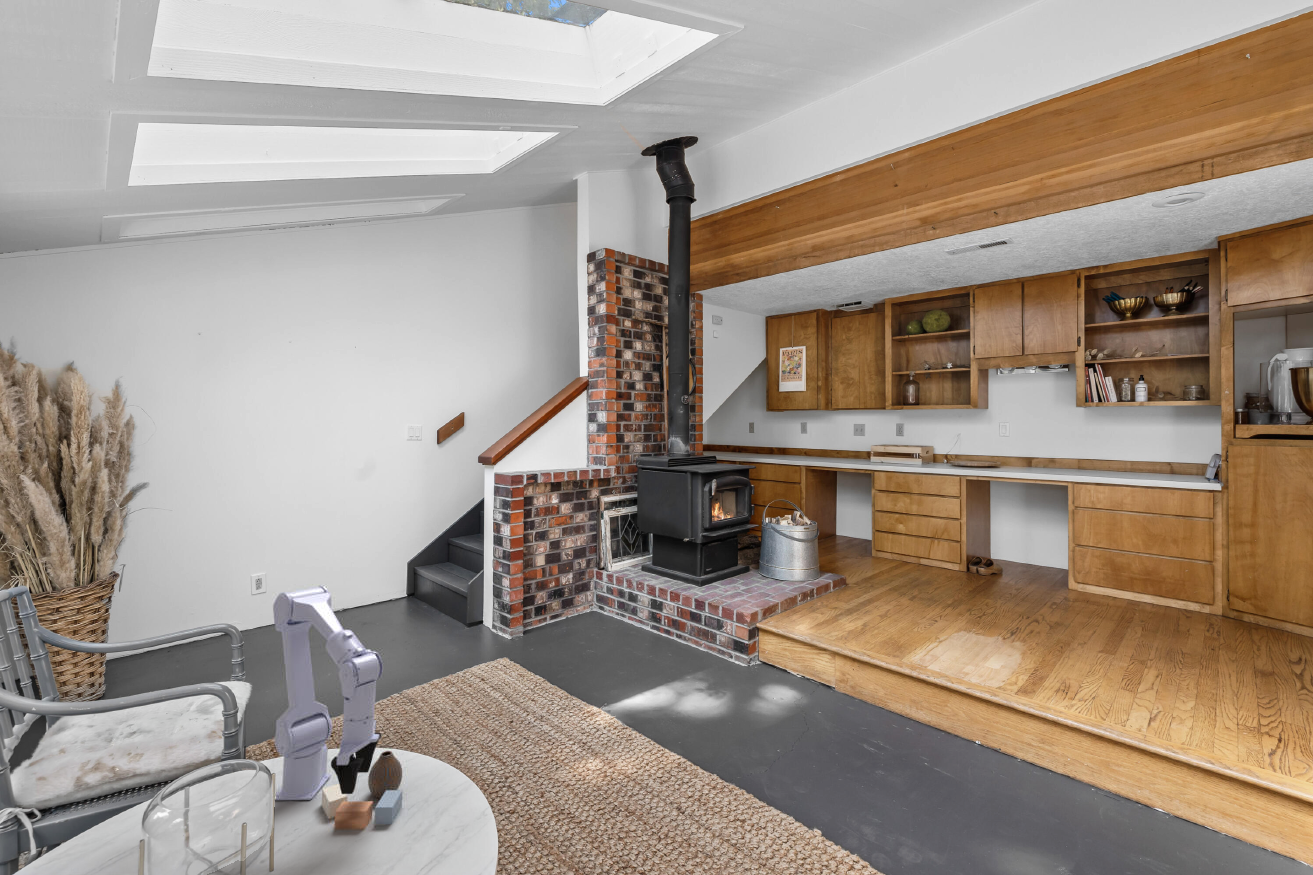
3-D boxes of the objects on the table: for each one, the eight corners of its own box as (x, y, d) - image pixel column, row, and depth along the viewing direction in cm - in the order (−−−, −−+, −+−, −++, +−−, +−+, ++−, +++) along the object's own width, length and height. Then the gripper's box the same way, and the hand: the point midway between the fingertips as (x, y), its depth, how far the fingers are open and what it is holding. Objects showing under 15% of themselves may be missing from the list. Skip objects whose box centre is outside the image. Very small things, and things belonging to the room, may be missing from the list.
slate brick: (385, 807, 126) (386, 790, 126) (401, 806, 126) (402, 789, 126) (374, 825, 120) (375, 807, 120) (391, 824, 120) (392, 807, 120)
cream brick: (321, 805, 125) (322, 788, 125) (339, 799, 127) (339, 783, 128) (328, 819, 121) (329, 801, 121) (346, 813, 123) (347, 795, 123)
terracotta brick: (334, 829, 118) (335, 811, 118) (341, 818, 121) (342, 801, 121) (365, 829, 118) (366, 811, 118) (372, 818, 122) (372, 800, 122)
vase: (392, 803, 127) (394, 762, 127) (361, 801, 127) (363, 760, 127) (406, 785, 134) (408, 746, 134) (377, 783, 134) (378, 744, 134)
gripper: (365, 731, 113) (361, 802, 113) (391, 699, 128) (388, 762, 127) (326, 731, 113) (323, 803, 112) (358, 699, 127) (354, 763, 127)
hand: (355, 781), depth 120 cm, fingers open, 7 cm apart
